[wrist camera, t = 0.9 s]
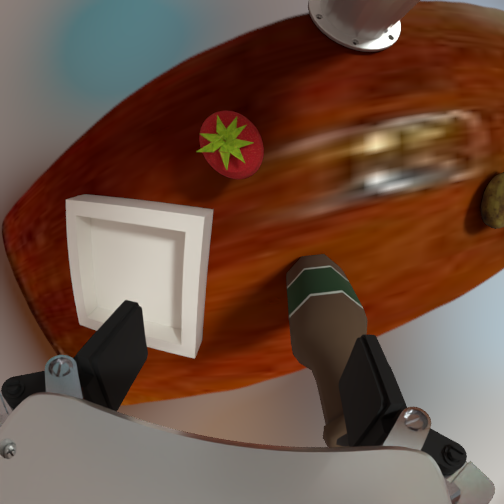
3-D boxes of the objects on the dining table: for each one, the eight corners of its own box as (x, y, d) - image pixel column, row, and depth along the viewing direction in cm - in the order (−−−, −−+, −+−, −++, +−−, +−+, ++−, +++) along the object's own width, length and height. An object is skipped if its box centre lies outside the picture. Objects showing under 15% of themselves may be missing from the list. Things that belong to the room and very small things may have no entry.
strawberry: (233, 185, 32) (215, 197, 23) (201, 134, 30) (172, 125, 21) (276, 161, 31) (277, 161, 21) (243, 108, 29) (230, 87, 20)
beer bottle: (276, 297, 37) (273, 462, 14) (294, 244, 34) (322, 396, 11) (330, 310, 37) (370, 465, 14) (350, 260, 34) (435, 402, 11)
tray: (84, 194, 34) (65, 199, 30) (213, 209, 33) (204, 216, 29) (93, 311, 41) (79, 324, 36) (202, 339, 40) (195, 358, 36)
